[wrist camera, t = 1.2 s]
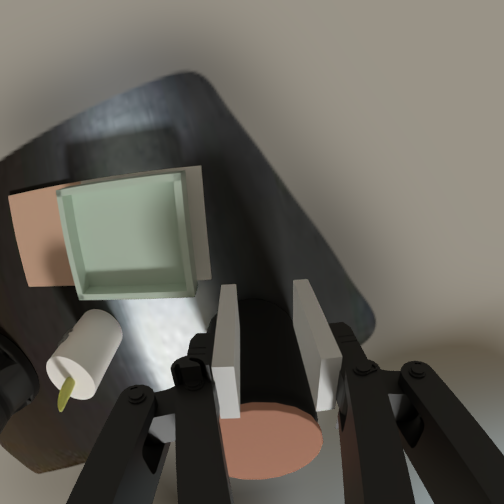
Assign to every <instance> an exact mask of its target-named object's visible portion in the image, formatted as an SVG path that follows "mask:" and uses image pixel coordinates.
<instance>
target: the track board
mask: <svg viewBox="0 0 504 504" xmlns="http://www.w3.org/2000/svg"><path fill="white" fill-rule="evenodd" d="M184 170H185V173H186V184H187V195H188V205H189V215H190V224H191V233H192V242H193V251H194V259H195V267H196V275H197V280H212V274H211V264H210V255H209V245H208V235H207V225H206V214H205V203H204V192H203V180H202V167H201V165H200V166H189V167H179V168H170V169H161V170H153V171H145V172H137V173H129V174H122V175H115V176H109V177H102V178H96V179H90V180H84V181H78V182H73V183H67V184H62V185H57V186H52V187H47V188H42V189H37V190H32V191H28V192H23V193H19V194H14V195H10V196H8V197H9V203H10V209H11V215H12V220H13V225H14V230H15V235H16V240H17V244H18V248H19V252H20V256H21V260H22V264H23V268H24V272H25V275H26V279H27V282H28V285H29V287H35V286H75V283H74V279H73V276H72V272H71V268H70V263H69V259H68V255H67V250H66V246H65V241H64V236H63V231H62V226H61V220H60V215H59V209H58V203H57V196H56V190H59V189H62V188H65V187H68V186H73V185H79V184H85V183H91V182H97V181H104V180H111V179H117V178H124V177H132V176H139V175H147V174H156V173H165V172H174V171H184Z"/></svg>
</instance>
